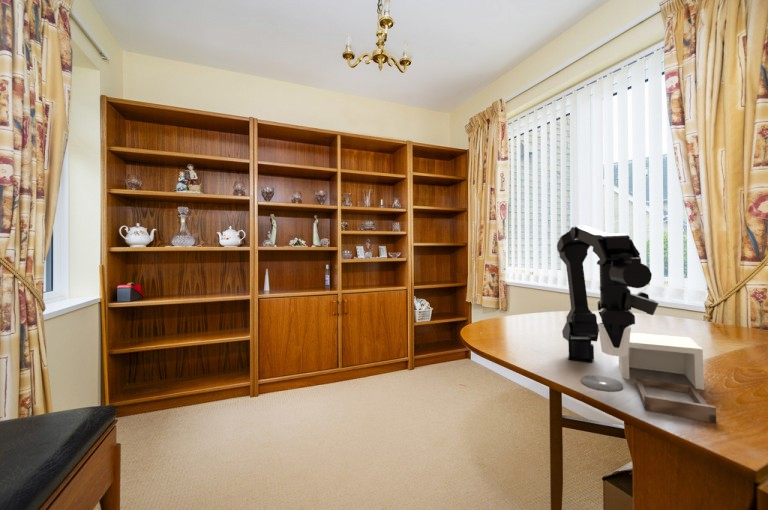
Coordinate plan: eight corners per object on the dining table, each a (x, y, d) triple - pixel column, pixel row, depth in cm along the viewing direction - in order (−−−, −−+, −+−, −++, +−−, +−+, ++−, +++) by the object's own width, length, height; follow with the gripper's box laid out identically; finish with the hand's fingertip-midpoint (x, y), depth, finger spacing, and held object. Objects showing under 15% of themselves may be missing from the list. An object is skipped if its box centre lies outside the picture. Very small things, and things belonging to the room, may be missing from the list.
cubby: (622, 378, 86) (621, 341, 86) (618, 364, 97) (617, 331, 97) (704, 389, 78) (702, 349, 78) (690, 373, 88) (689, 337, 88)
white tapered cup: (621, 359, 77) (620, 331, 77) (592, 350, 84) (591, 324, 83) (637, 353, 80) (636, 326, 80) (608, 345, 86) (607, 320, 86)
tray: (645, 410, 69) (644, 396, 69) (635, 383, 82) (635, 372, 82) (716, 423, 63) (715, 408, 63) (693, 392, 77) (693, 379, 77)
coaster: (580, 387, 82) (580, 384, 82) (581, 375, 89) (581, 373, 89) (624, 394, 77) (624, 391, 77) (621, 381, 85) (621, 378, 85)
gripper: (663, 288, 69) (665, 360, 69) (646, 280, 85) (648, 338, 85) (601, 287, 75) (603, 353, 75) (596, 279, 91) (598, 333, 91)
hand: (615, 344), depth 82 cm, fingers closed on white tapered cup, 6 cm apart
